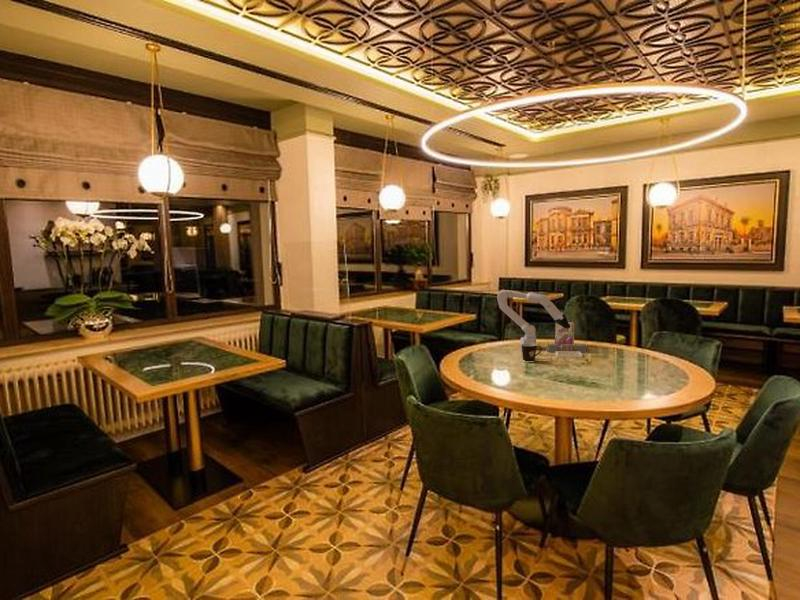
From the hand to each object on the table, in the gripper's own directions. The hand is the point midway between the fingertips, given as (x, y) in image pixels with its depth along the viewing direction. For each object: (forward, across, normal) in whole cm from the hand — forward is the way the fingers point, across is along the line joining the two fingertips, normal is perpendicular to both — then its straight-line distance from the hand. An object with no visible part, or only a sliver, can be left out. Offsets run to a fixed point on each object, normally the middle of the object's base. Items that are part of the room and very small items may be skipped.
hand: (567, 327), depth 291 cm
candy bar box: (+11, +14, +8) cm, 19 cm away
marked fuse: (+10, -4, +11) cm, 15 cm away
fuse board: (+11, -4, +11) cm, 16 cm away
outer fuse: (+15, -5, +4) cm, 17 cm away
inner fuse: (+5, -4, +17) cm, 18 cm away
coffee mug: (-2, -24, +32) cm, 40 cm away
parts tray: (+12, -14, +13) cm, 22 cm away
